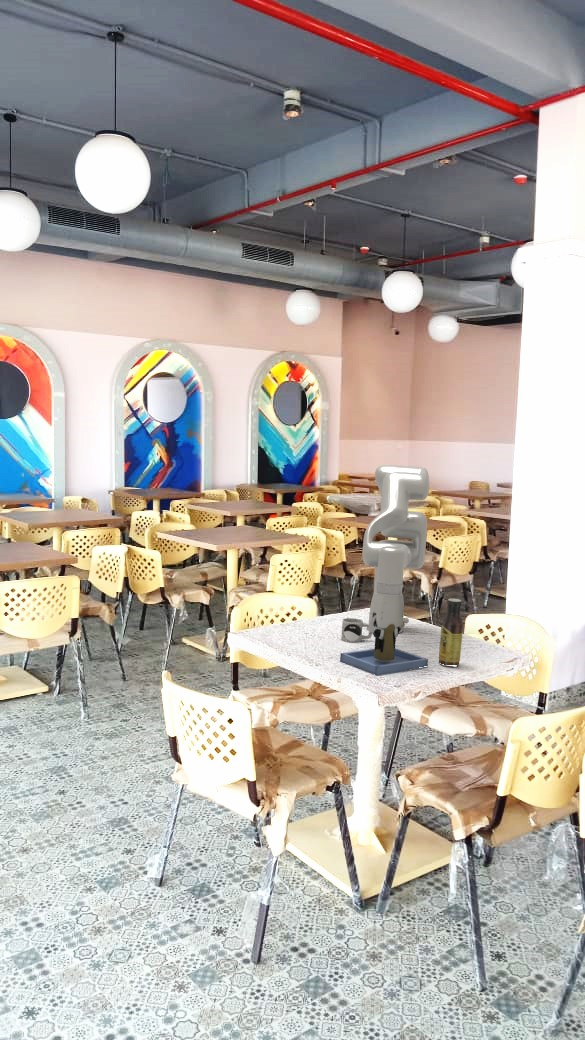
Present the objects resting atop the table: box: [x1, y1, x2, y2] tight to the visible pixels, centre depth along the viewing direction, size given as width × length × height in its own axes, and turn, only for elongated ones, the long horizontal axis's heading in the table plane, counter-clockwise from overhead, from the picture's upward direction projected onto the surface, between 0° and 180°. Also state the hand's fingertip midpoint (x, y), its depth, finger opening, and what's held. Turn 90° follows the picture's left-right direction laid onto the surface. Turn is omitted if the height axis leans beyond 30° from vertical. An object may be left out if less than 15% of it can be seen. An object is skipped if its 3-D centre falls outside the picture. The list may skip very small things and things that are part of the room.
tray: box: [339, 647, 429, 676], centre depth 240 cm, size 20×16×2 cm
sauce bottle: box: [438, 598, 464, 666], centre depth 243 cm, size 6×6×20 cm
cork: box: [374, 624, 395, 661], centre depth 240 cm, size 6×6×11 cm
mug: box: [340, 617, 373, 644], centre depth 268 cm, size 10×7×7 cm
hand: (384, 650), depth 240 cm, fingers closed on cork, 3 cm apart
